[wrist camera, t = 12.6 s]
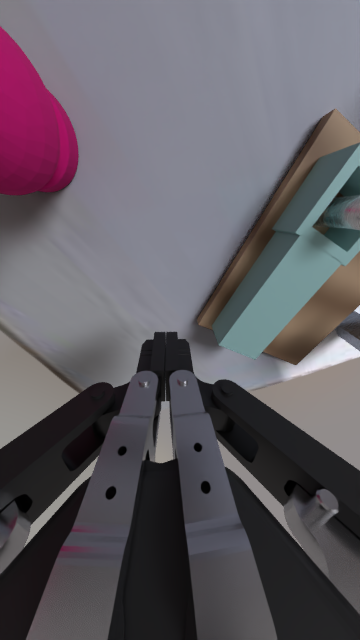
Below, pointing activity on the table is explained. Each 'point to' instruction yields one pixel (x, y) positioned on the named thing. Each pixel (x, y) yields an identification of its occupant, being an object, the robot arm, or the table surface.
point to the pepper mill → (31, 129)
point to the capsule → (341, 213)
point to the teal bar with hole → (293, 259)
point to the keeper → (350, 329)
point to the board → (347, 281)
